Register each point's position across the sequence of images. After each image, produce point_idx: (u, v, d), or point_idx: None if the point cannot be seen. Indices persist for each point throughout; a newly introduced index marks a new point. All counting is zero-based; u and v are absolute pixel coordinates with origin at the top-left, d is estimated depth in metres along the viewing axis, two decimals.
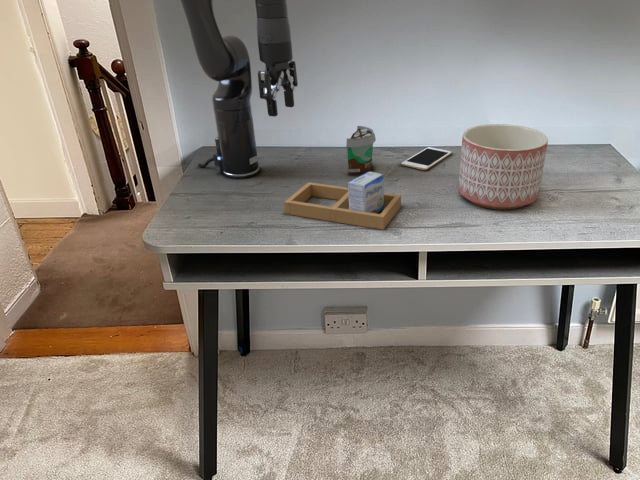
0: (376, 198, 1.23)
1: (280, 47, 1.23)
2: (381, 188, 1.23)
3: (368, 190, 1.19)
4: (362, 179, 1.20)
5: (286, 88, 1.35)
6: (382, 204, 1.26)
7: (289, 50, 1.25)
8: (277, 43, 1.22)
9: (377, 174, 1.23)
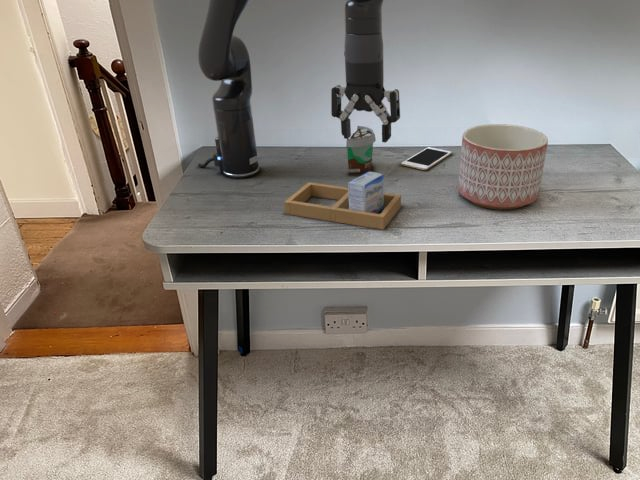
0: (376, 198, 1.23)
1: (347, 66, 1.07)
2: (381, 188, 1.23)
3: (368, 190, 1.19)
4: (362, 179, 1.20)
5: None
6: (382, 204, 1.26)
7: (357, 73, 1.06)
8: (345, 61, 1.07)
9: (377, 174, 1.23)
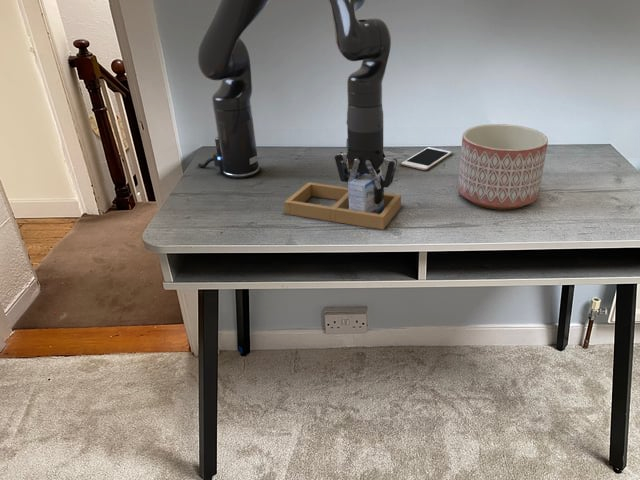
0: None
1: (349, 134, 1.14)
2: None
3: (369, 190, 1.19)
4: (363, 179, 1.20)
5: None
6: (382, 204, 1.26)
7: (358, 141, 1.13)
8: (348, 129, 1.14)
9: None
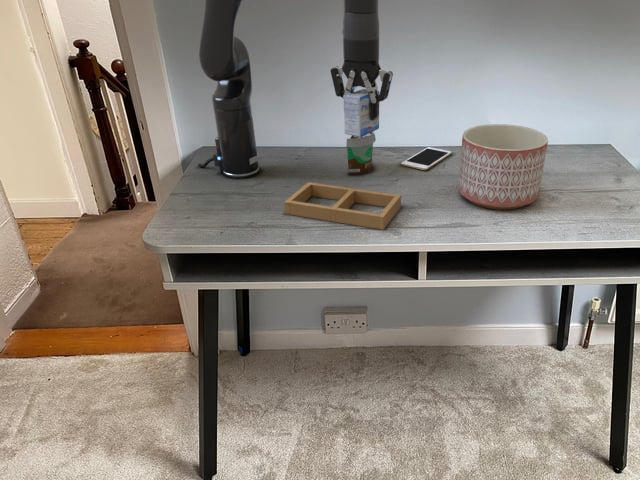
0: None
1: (344, 43, 1.14)
2: None
3: (364, 104, 1.19)
4: (358, 93, 1.20)
5: None
6: (377, 122, 1.26)
7: (353, 50, 1.13)
8: (343, 38, 1.14)
9: None
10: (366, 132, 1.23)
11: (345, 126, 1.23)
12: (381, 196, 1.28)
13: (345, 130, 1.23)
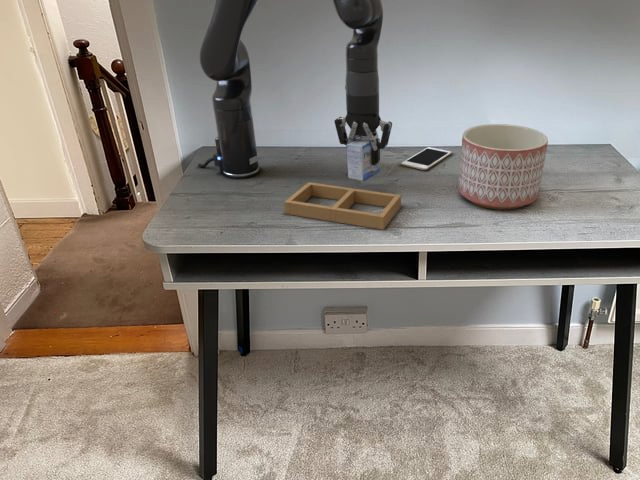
0: None
1: (347, 98, 1.24)
2: None
3: (366, 152, 1.29)
4: (360, 142, 1.30)
5: None
6: (378, 166, 1.36)
7: (356, 104, 1.23)
8: (346, 93, 1.24)
9: None
10: (368, 176, 1.33)
11: (349, 171, 1.32)
12: (381, 196, 1.28)
13: (349, 175, 1.33)
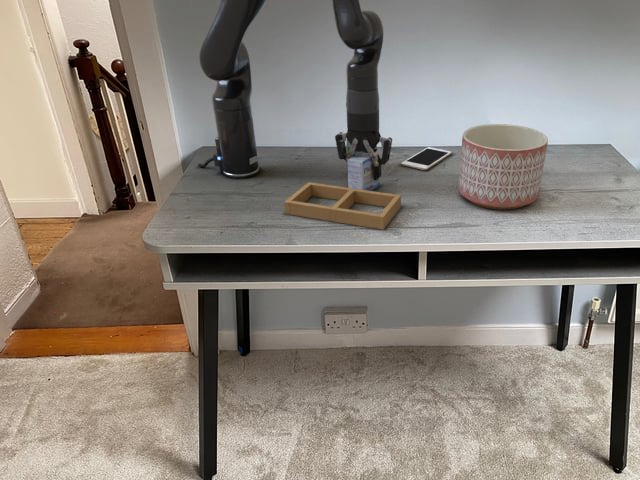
0: (372, 174, 1.35)
1: (348, 116, 1.26)
2: None
3: (366, 167, 1.31)
4: (360, 157, 1.32)
5: None
6: (378, 180, 1.38)
7: (356, 122, 1.25)
8: (347, 111, 1.26)
9: None
10: (368, 190, 1.35)
11: (349, 186, 1.34)
12: (381, 196, 1.28)
13: None
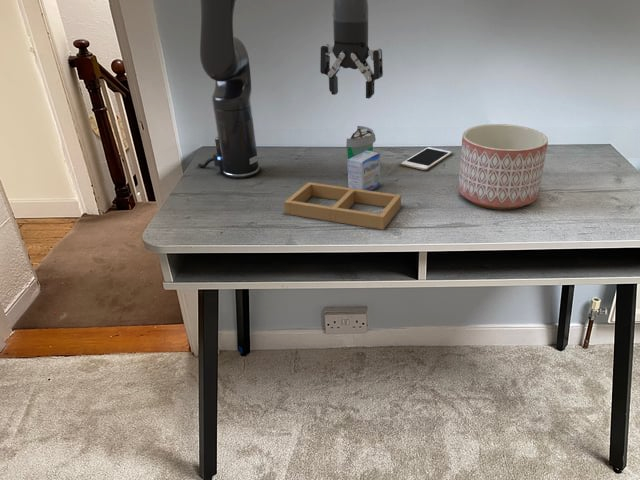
0: (372, 174, 1.35)
1: (334, 25, 1.18)
2: (377, 165, 1.35)
3: (366, 167, 1.31)
4: (360, 157, 1.32)
5: None
6: (378, 180, 1.38)
7: (343, 31, 1.17)
8: (333, 20, 1.18)
9: (374, 152, 1.35)
10: (368, 190, 1.35)
11: (349, 186, 1.34)
12: (381, 196, 1.28)
13: None
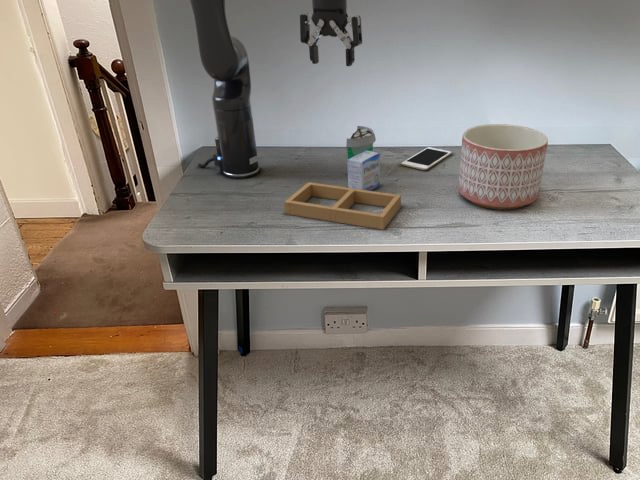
0: (372, 174, 1.35)
1: None
2: (377, 165, 1.35)
3: (366, 167, 1.31)
4: (360, 157, 1.32)
5: None
6: (378, 180, 1.38)
7: None
8: None
9: (374, 152, 1.35)
10: (368, 190, 1.35)
11: (349, 186, 1.34)
12: (381, 196, 1.28)
13: None
